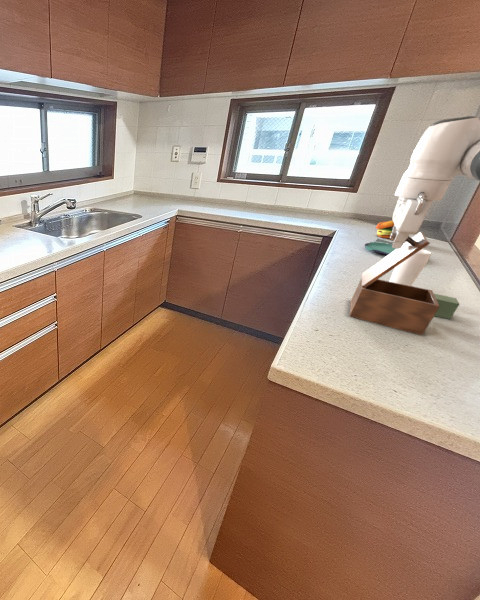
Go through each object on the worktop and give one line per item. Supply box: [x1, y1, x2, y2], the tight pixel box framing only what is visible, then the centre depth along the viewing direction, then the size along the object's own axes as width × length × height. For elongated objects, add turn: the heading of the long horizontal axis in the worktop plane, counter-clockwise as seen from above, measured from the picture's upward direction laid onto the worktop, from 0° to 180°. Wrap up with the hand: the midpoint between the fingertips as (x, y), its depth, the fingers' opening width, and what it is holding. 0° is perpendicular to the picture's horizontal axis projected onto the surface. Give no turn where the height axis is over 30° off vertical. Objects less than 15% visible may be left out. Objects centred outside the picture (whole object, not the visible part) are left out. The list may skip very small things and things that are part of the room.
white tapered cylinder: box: [388, 248, 432, 286], centre depth 106 cm, size 7×7×15 cm
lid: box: [361, 231, 430, 288], centre depth 90 cm, size 16×13×5 cm
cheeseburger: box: [375, 219, 394, 239], centre depth 173 cm, size 10×11×10 cm
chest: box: [349, 277, 440, 336], centre depth 92 cm, size 16×13×9 cm
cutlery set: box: [364, 238, 396, 256], centre depth 152 cm, size 20×30×2 cm, turn 132°
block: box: [434, 293, 460, 320], centre depth 96 cm, size 5×5×5 cm
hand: (394, 243), depth 88 cm, fingers open, 8 cm apart
